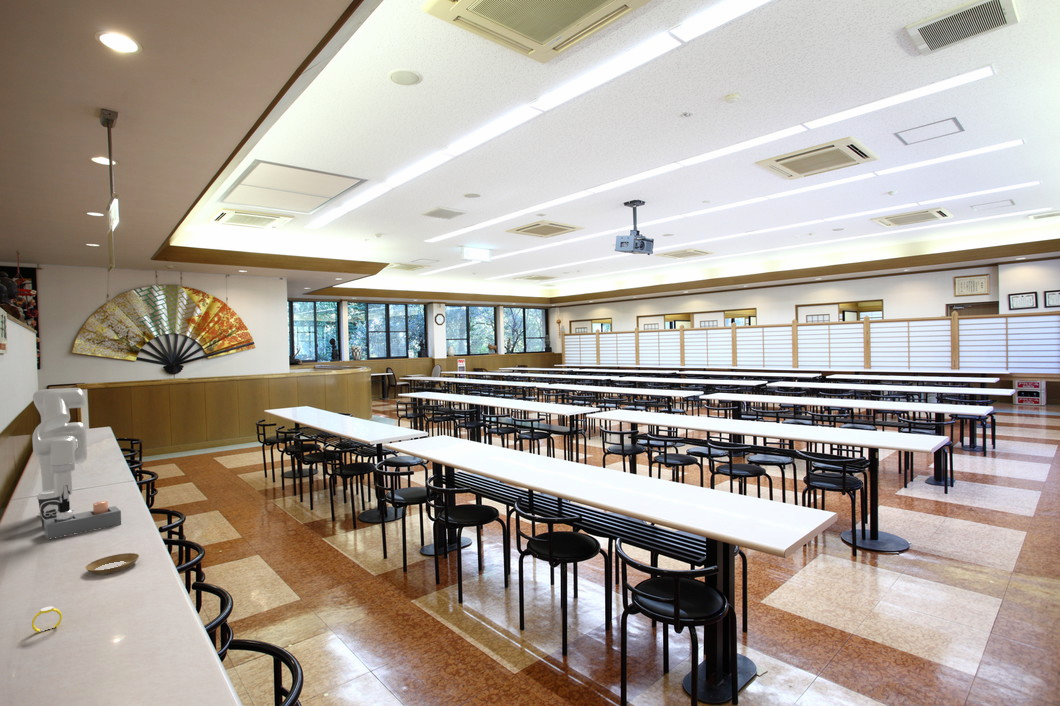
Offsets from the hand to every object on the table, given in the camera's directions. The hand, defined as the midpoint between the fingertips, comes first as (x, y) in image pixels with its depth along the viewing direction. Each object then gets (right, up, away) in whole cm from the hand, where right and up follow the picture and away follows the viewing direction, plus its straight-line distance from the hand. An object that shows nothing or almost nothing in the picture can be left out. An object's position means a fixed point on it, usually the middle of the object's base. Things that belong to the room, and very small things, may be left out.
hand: (64, 511), depth 221 cm
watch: (+65, -9, -79) cm, 103 cm away
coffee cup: (-15, -10, +11) cm, 22 cm away
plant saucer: (+51, -9, -38) cm, 64 cm away
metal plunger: (0, -6, 0) cm, 6 cm away
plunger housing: (+4, -9, +5) cm, 11 cm away
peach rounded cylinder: (+8, -5, +9) cm, 13 cm away
